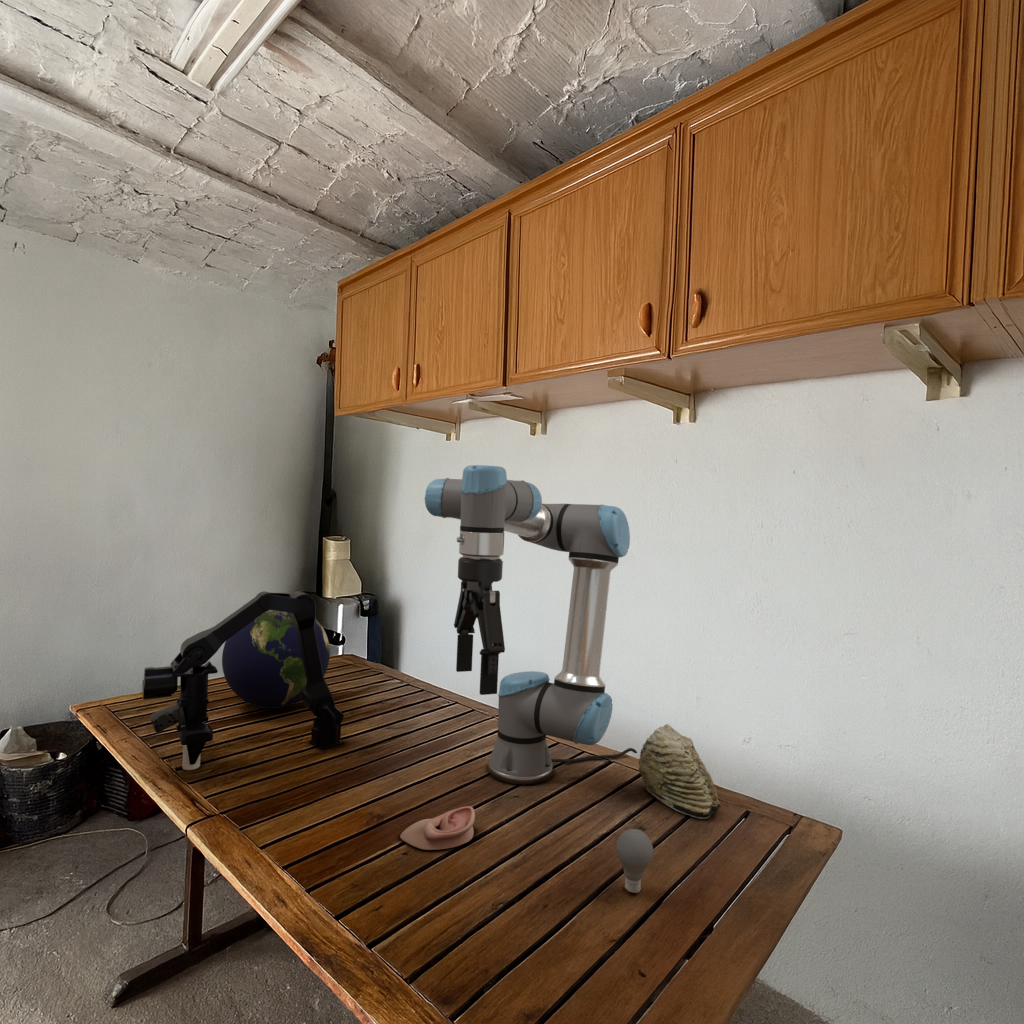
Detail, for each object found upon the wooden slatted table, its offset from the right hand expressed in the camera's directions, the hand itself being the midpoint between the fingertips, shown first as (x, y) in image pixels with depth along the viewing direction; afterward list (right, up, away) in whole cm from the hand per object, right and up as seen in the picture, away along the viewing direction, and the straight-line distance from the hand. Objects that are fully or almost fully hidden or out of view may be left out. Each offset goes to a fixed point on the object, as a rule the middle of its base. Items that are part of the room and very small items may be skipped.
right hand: (475, 681), depth 107 cm
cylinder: (-68, -30, +38) cm, 83 cm away
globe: (-64, -29, +81) cm, 107 cm away
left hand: (-67, -28, +38) cm, 82 cm away
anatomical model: (-8, -33, +13) cm, 36 cm away
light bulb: (+26, -35, -2) cm, 43 cm away
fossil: (+42, -35, +31) cm, 63 cm away
